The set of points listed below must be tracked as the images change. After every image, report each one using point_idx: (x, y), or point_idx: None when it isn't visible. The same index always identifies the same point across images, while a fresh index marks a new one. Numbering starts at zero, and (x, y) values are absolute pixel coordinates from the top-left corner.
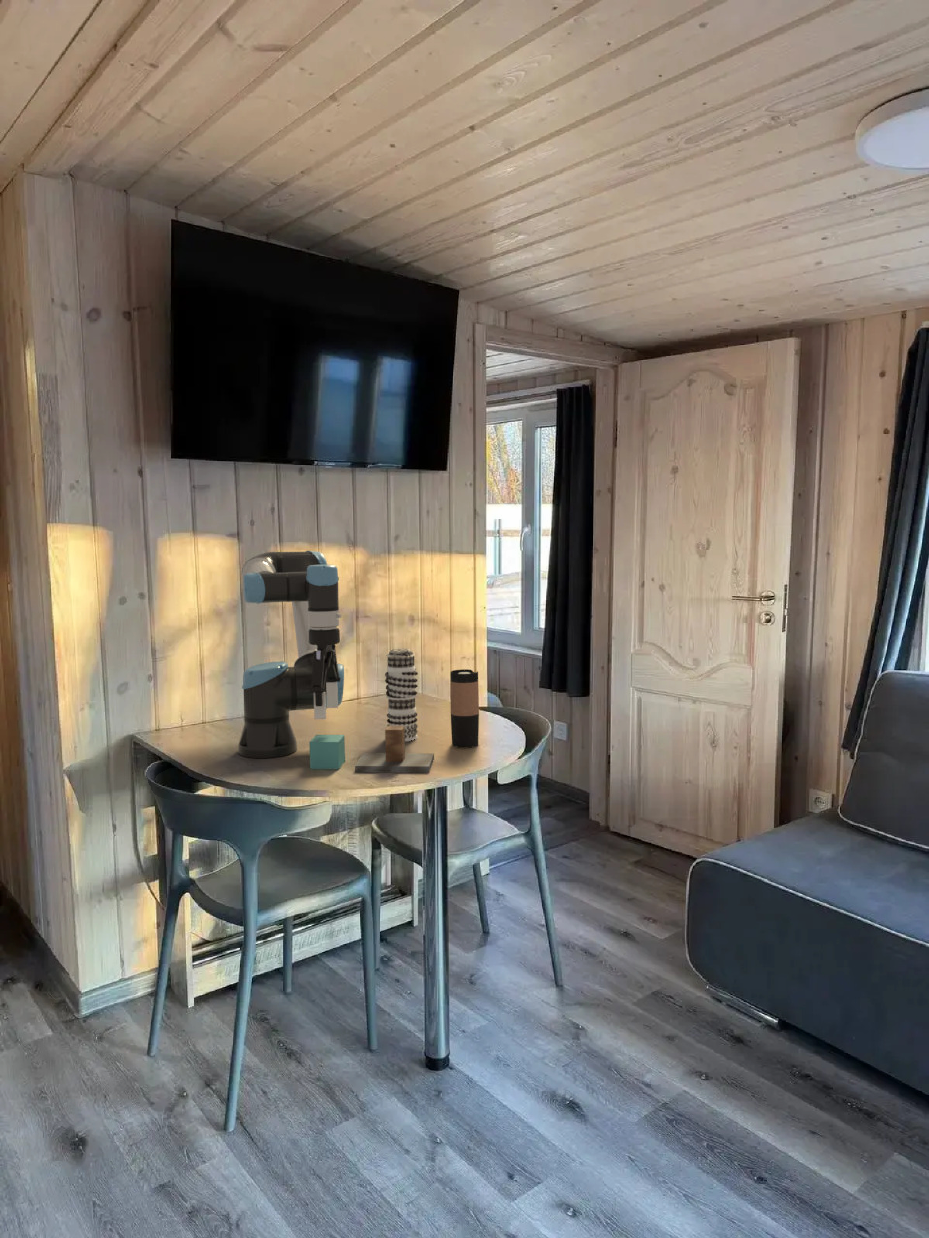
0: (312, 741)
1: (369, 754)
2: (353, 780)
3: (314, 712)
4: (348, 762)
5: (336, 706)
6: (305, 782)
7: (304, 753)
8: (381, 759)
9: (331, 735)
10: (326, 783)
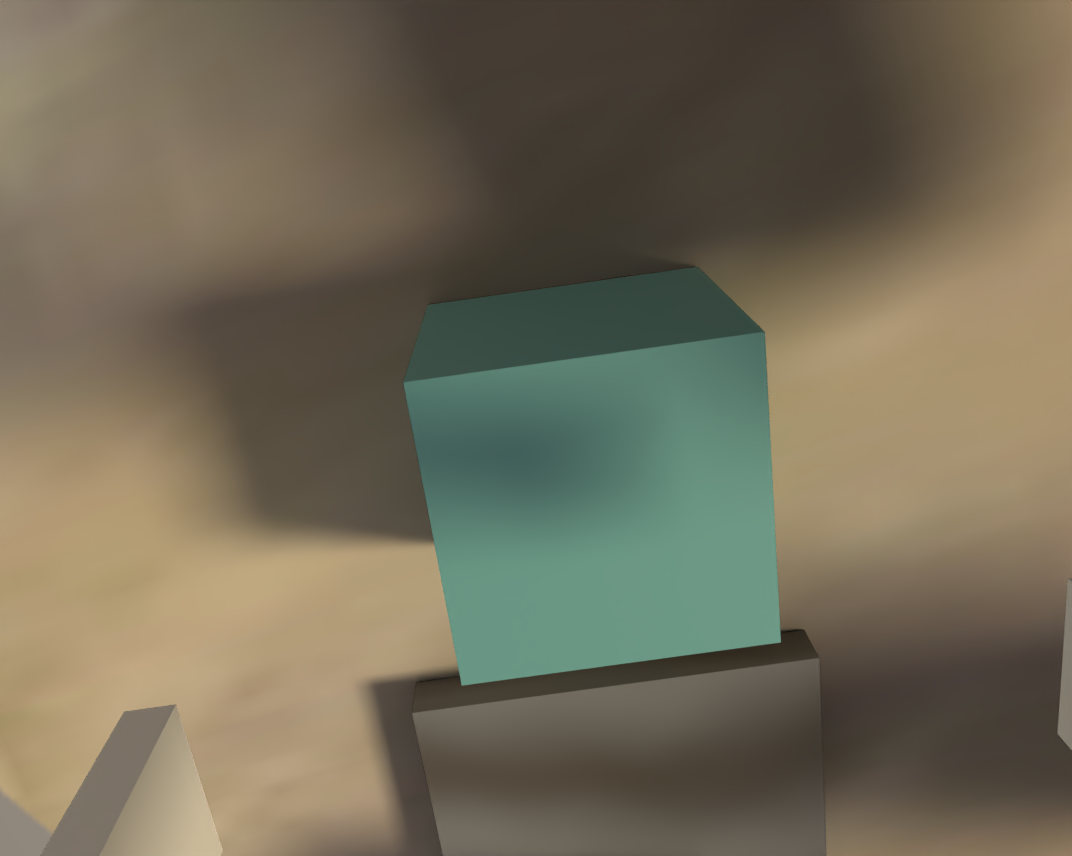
0: (428, 411)
1: (773, 712)
2: (204, 734)
3: (76, 798)
4: None
5: (1070, 737)
6: (35, 417)
7: (977, 20)
8: (632, 831)
9: (743, 519)
10: (68, 583)
